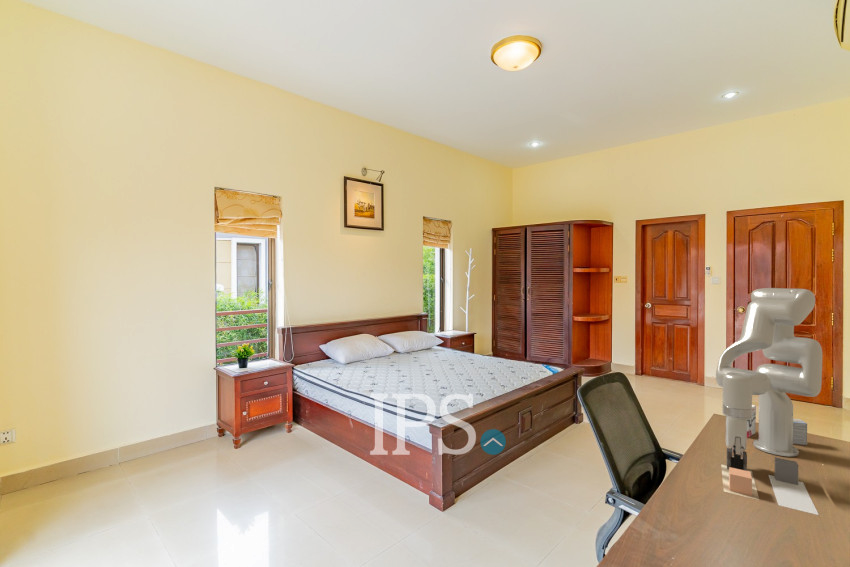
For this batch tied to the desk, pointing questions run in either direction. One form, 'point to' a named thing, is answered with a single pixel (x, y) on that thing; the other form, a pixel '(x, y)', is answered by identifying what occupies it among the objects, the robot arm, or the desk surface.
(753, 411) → the ink box
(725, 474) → the cube strip
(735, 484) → the cube
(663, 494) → the desk surface
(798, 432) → the medicine box
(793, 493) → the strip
